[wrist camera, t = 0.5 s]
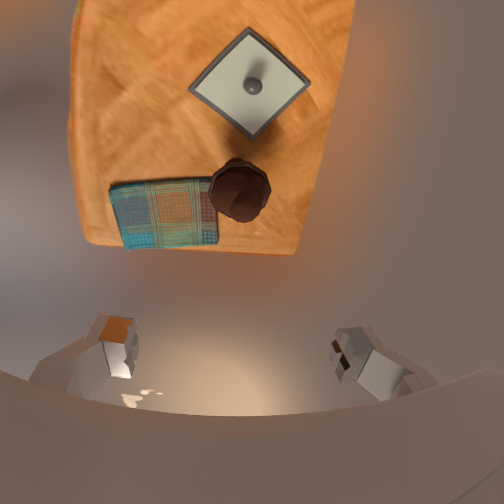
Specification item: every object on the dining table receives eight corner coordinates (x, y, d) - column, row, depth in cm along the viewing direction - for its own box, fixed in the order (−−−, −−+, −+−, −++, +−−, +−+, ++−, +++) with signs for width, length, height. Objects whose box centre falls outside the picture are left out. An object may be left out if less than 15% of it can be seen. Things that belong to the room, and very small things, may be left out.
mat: (247, 28, 36) (247, 27, 36) (310, 84, 44) (311, 84, 44) (187, 90, 43) (187, 90, 43) (252, 140, 51) (252, 140, 50)
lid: (248, 34, 37) (251, 32, 33) (303, 84, 44) (311, 86, 40) (195, 89, 43) (192, 91, 39) (252, 134, 50) (255, 140, 46)
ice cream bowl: (270, 153, 53) (286, 185, 42) (252, 200, 59) (261, 242, 48) (218, 139, 50) (218, 167, 38) (204, 188, 56) (200, 229, 45)
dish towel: (109, 184, 53) (105, 189, 51) (215, 174, 55) (215, 179, 53) (125, 246, 64) (123, 253, 62) (218, 241, 66) (219, 248, 64)
